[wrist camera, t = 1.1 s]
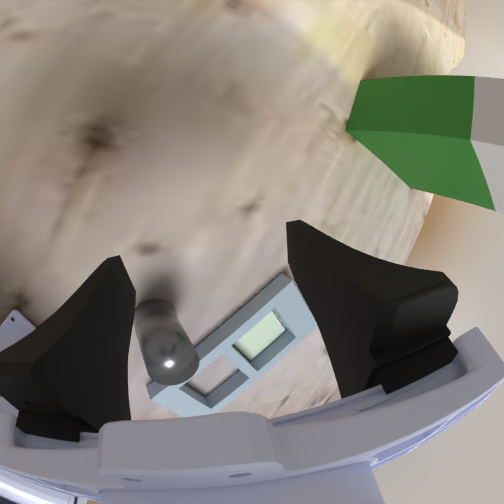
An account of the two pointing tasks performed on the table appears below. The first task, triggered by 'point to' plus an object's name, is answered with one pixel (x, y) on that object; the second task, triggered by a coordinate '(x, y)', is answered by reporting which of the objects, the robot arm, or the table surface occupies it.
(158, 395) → the grey double-hole frame
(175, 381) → the peg
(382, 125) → the hardback book
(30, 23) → the table surface
